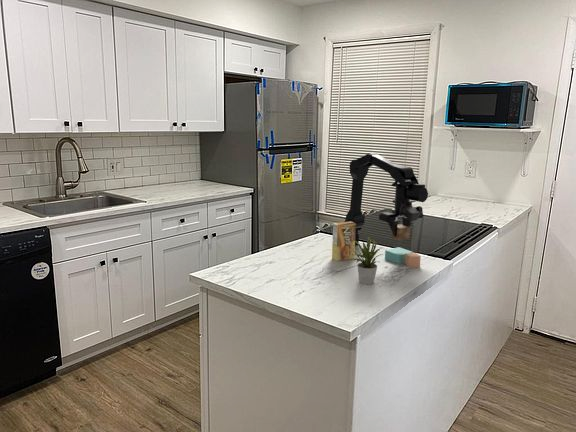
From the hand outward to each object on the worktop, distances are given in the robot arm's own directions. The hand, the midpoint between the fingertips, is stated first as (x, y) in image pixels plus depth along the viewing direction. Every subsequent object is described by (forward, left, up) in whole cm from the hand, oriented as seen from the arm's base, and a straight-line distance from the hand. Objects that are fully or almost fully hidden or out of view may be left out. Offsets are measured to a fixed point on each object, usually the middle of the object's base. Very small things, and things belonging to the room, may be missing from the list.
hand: (400, 235), depth 182 cm
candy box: (-23, 0, -10) cm, 25 cm away
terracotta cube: (+4, -7, -10) cm, 13 cm away
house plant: (-17, -25, -10) cm, 32 cm away
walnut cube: (0, 0, -1) cm, 1 cm away
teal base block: (0, 0, -11) cm, 11 cm away
